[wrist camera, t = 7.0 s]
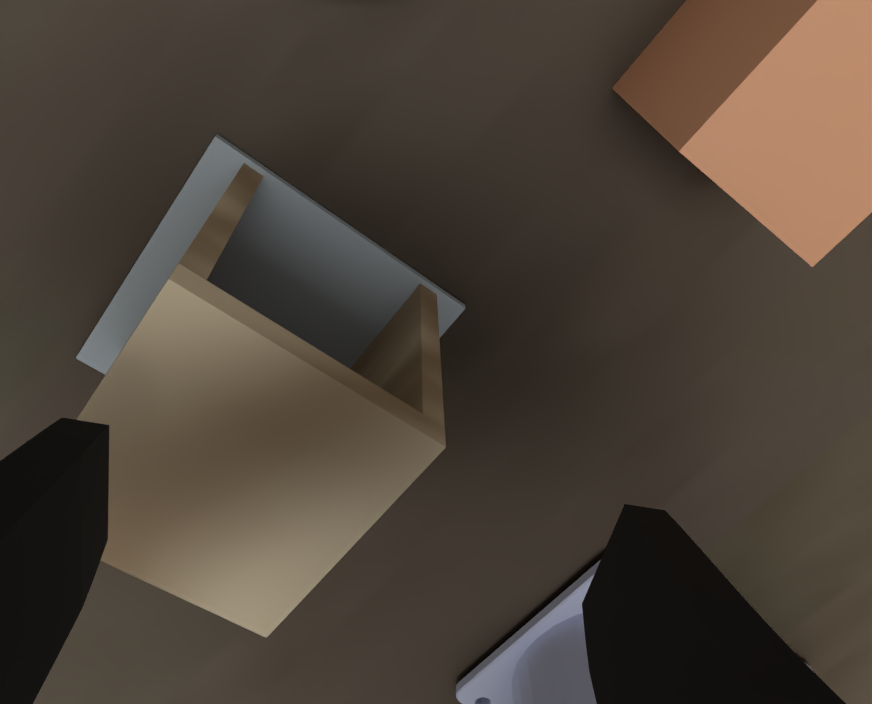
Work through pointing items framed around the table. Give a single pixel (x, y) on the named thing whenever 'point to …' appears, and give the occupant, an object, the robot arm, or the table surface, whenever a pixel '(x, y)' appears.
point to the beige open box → (256, 438)
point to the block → (769, 108)
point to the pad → (271, 266)
